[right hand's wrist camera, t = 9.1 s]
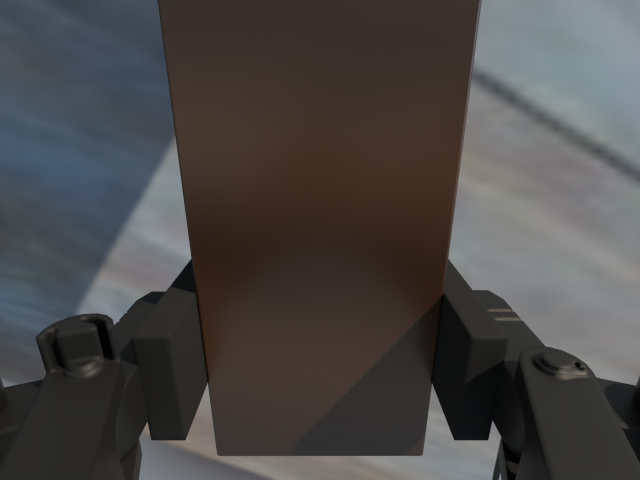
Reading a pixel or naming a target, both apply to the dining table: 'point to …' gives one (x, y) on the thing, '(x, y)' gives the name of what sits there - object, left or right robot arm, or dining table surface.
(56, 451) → the right robot arm
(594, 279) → the dining table surface
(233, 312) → the plank
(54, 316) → the dining table surface
